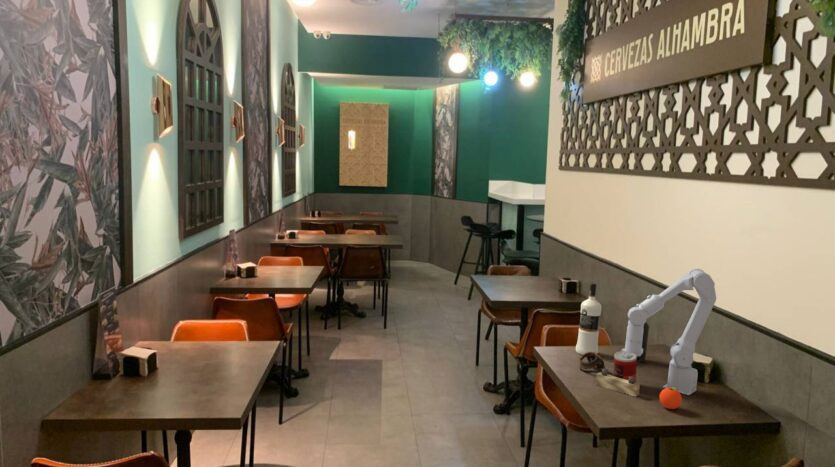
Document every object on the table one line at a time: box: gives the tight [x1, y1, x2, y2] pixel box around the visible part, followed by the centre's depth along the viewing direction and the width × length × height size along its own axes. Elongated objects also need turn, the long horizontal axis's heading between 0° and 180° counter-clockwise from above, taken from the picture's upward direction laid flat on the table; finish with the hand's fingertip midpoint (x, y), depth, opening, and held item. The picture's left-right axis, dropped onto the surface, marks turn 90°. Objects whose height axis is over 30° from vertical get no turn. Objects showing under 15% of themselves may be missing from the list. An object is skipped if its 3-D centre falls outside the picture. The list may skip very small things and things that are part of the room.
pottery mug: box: [578, 352, 606, 371], centre depth 242 cm, size 12×10×8 cm
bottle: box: [637, 317, 650, 363], centre depth 257 cm, size 7×7×20 cm
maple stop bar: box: [594, 368, 641, 398], centre depth 222 cm, size 15×3×6 cm, turn 48°
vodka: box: [575, 282, 602, 356], centre depth 262 cm, size 9×9×30 cm
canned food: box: [613, 350, 638, 383], centre depth 226 cm, size 8×8×11 cm
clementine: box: [658, 387, 683, 410], centre depth 208 cm, size 8×7×7 cm
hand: (630, 375), depth 230 cm, fingers closed, pressing on canned food
